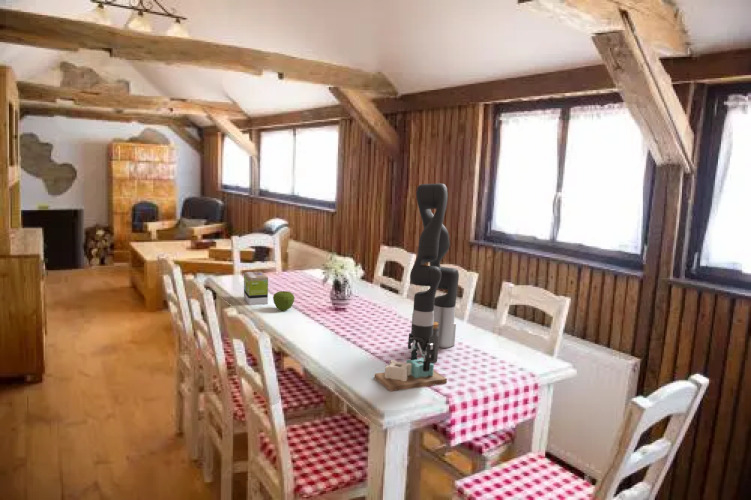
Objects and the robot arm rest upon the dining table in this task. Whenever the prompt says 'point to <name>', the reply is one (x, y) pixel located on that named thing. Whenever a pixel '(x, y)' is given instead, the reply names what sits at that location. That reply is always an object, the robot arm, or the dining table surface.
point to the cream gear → (398, 370)
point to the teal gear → (420, 368)
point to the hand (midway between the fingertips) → (419, 366)
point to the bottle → (434, 341)
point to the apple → (283, 300)
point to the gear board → (410, 381)
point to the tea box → (255, 288)
